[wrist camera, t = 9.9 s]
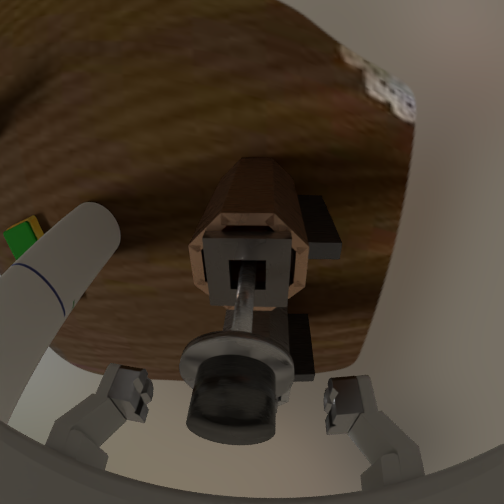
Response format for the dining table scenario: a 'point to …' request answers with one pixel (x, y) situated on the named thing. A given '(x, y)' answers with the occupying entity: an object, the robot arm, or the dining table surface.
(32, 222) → the dish sponge
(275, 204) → the copper press carafe
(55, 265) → the cylindrical container
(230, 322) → the steel press carafe
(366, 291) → the dining table surface
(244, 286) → the copper press plunger
